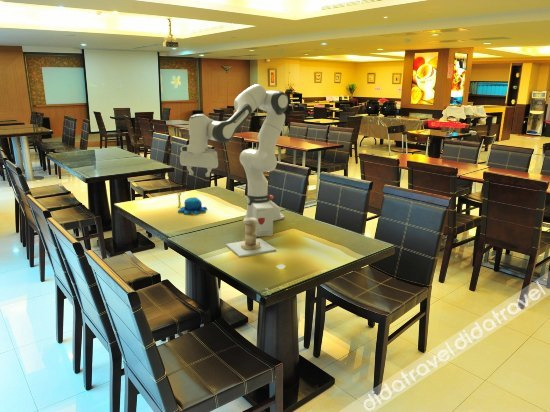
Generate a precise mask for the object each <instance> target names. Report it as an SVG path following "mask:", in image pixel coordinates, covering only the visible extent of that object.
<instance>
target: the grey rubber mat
mask: <svg viewBox="0 0 550 412" xmlns="http://www.w3.org/2000/svg"><path fill="white" fill-rule="evenodd" d="M244 241H245V240H242V241H236V242H230V243H226V244H225V246H226V247H227V248H229V249H230V250H231V251H232V253H234V254H235V255H236V256H237V257H238V258H243V257H244V258H245V257H250V256H255V255H260V254H266V253H272V252H276V251H277V249H276V248H274V247H273V246H272V245H271V244H269V243H268V242H266V241H265V240H264V239H262V238H260V237H259V238H256V241H258V242H260V248H258V249H256V250H245V249H242V248H241V243H242V242H244Z"/></svg>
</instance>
